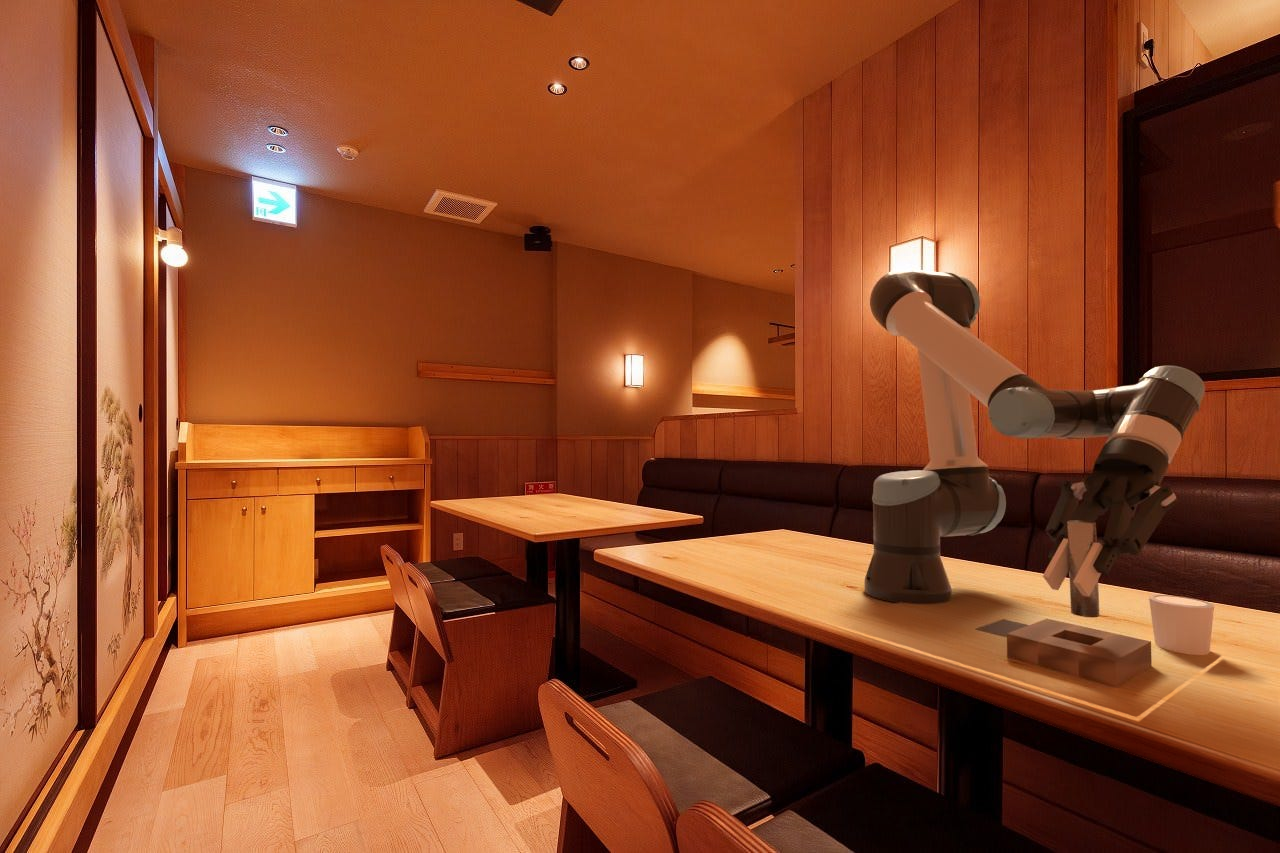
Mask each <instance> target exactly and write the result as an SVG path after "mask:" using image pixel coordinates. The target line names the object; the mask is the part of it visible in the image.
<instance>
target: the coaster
mask: <svg viewBox="0 0 1280 853" xmlns="http://www.w3.org/2000/svg"><path fill="white" fill-rule="evenodd" d="M1028 625H1029V624H1026V623H1022V622H1019V621H1018V622H1017V621H1013V620H1008V619H1004V618H1002V619H999V620H997V621H994V622H991V623H989V624H985V625H983V626H980V627H977V628H975V630H977V631H980V632H984V633H988V634H991V635H996V636H1000V637H1004V638H1007V633H1010V632H1012V631H1015V630H1018V629H1020V628H1023V627H1026V626H1028Z"/></svg>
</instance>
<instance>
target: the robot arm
mask: <svg viewBox="0 0 1280 853" xmlns="http://www.w3.org/2000/svg"><path fill="white" fill-rule="evenodd" d="M869 307H870V312H871V313H872V315H873V318H874V319H875V321H876V322H877V323H878V324H879V325H880V326H881V327H882V328H884V329H885V330H886V331H887V333H889V334H890V335H892V336H895V337H903V338H904V339H905V340H906V341H908V342H909V343H910V344H911V345H913V346H914V347H915V348H916V349H917V356H918V364H919V371H920V372H919V373H920V380H921V382H920V383H921V392H922V398H923V408H924V416H925V425H926V426H925V427H926V433H927V434H926V435H927V443H928V444H927V445H928V452H929V463H927V465H926V466H925V467H924V468H923V470H922V469H921V470H917V469H916V470H907V471H906V470H905V471H904V470H901V471H894V472H889V473H884V474H880V475H879V476H877V477H876V478H875V479H874V482H873V489H872V490H873V492H872V495H871V496H872V497H871V501H872V518H873V519H872V520H873V521H872V523H873V527H872V529H873V553H872V557H871V560H870V562H869V564H868V569H867V571H866V574H865V577H864V593H865V594H866V595H868V596H869V597H873V598H875V599H879V600H881V601H886V602H892V603H896V604H897V603H905V604H914V605H935V604H943V603H947V602H950V601H951V599H952V586H951V583H950V581H949V577H948V574H947V571H946V569H945V566H944V564H943V561H942V557H941V538H942V537H943V538H946V537H957V536H959V537H960V536H969V537H970V536H976V535H979V534H984V533H987V532H990V531H991V530H993V529H994V528H996V527H997V525H999V523H1001V521H1002V519H1003V518H1004V516H1005V512H1006V509H1007V508H1006V507H1007V500H1006V499H1007V498H1006V494H1005V492H1004V489H1003V487H1002V485H1000V484H998V482H997V480H995V479H993V478H992V477H990V474H989V473H990V472H989V465H988V464H987V463H985V462H984V461H983V460H982V459H980V458H979V456H978V449H977V448H978V447H977V440H976V431H975V422H974V415H973V408H972V400H971V396H972V397H974V398H975V399H977V400H978V401H979V402H980V403H981V404H982V405H984V406H985V407H986V408H987V409H988V413H987V414H988V418H989V420H990V423H991V426H992V427H993V429H994V430H996V431H997V432H998V433H1000V434H1001V435H1003V436H1006V437H1015V438H1018V439H1036V438H1037V439H1040V438H1042V439H1043V438H1045V439H1046V438H1055V439H1059V440H1060V439H1061V440H1064V439H1066V440H1081V439H1085V438H1086V439H1087V438H1088V439H1089V438H1101V437H1107V439H1106V441H1105V444H1104V445H1103V446H1102V448H1101V450H1100V452H1099V453H1098V455H1097V457H1096V458H1095V460H1094V464H1093V468H1092V472H1090V473H1089V475H1087V476H1086V477H1085V478H1084V479H1083V481H1080V482H1075V483H1071V481H1070V480H1064V481H1062V482H1061V483H1060V488H1061V493H1060V497H1059V498H1058V500H1057V502H1056V505H1055V506H1054V509H1053V512H1052V514H1051V516H1050V518H1049V521H1048V523H1047V525H1046V527H1045V532H1046V534H1047V535H1048V536H1049V539H1051V541H1052V542H1053V544H1054V545H1053V546H1052V548H1051V550H1050V551H1049V553H1048V557H1047V558H1048V560H1049V563H1048V565H1047V567H1046V569H1045V571H1044V573H1043V574H1042V577H1043V579H1044V580H1045V581H1046V582H1047V584H1048V586H1050V588H1051V589H1052V590H1055V591H1059V590H1060V588H1061V586H1062V584H1063V582H1064V581H1065V579H1066V577H1067V576H1068V573H1069V550H1068V525H1067V521H1070V520H1081V521H1092V522H1096V521H1097V520H1098V518H1099V517H1100V516H1104V515H1105V513H1107V511H1108V510H1109V509H1111V511H1110V514H1109V516H1108V520H1107V524H1106V527H1105V531H1104V535H1103V536H1099V539H1100V541H1101V542H1102V543H1103V544H1102V543H1101V542H1097V543H1095V542H1094V543H1093V545H1092V547H1091V549H1090V551H1089V553H1088V555H1087V556H1086V558H1085V560H1084V562H1083V564H1082V566H1081V568H1080V570H1079V571H1078V573H1077V575H1076V577H1075V579H1074V581H1073V583H1074V584H1075V586H1076V587H1077V588H1078V590H1079V591H1080V593H1081V594H1082V595H1083V596H1087V597H1089V596H1090V594H1091V592H1092V591H1093V589H1094V587H1095V585H1096V583H1097V581H1098V582H1099V578H1100V577H1101V574H1103V575H1107V574H1108V573H1110V572H1111V569H1112V568H1113V565H1114V564H1115V562H1116V560H1117V559H1118V557H1119V556H1121V555H1122V554H1129V555H1131V556H1137V555H1139V554H1140V553H1141V552H1142V551H1143V549H1144V547H1145V545H1146V544H1147V542H1148V541H1149V539H1150V538H1151V536H1152V534H1153V533H1154V532H1155V530H1156V528H1157V527H1158V525H1159V524H1160V522H1161V521H1162V519H1163V518H1164V516H1165V515H1166V513H1167V512H1168V511H1170V510H1171V509H1172V508H1174V507H1175V506H1177V504H1178V503H1179V499H1178V498H1177V495H1176V494H1175V493H1174V491H1173V489H1172V487H1171V486H1169V485H1163V486H1159V485H1160V484H1161V483H1162V481H1163V479H1164V477H1165V475H1166V473H1167V471H1168V468H1169V465H1170V464H1171V462H1172V461H1173V458H1174V456H1175V455H1176V453H1177V450H1178V448H1180V447H1179V446H1180V444H1181V443H1182V440H1183V439H1184V435H1185V433H1186V432H1187V429H1188V428H1189V426H1190V425H1191V423H1192V422H1193V420H1194V418H1195V417H1196V414H1197V413H1198V412H1199V411H1200V408H1201V403H1202V400H1203V397H1204V395H1205V393H1206V385H1205V383H1204V381H1203V380H1202V378H1201V377H1200V375H1198V374H1197V373H1195V372H1194V371H1191V370H1190V369H1188V368H1184V367H1182V366H1177V365H1160V366H1155V367H1153V368H1151V369H1150V370H1148V371H1146V372H1145V373H1144V374H1143V376H1142V377H1141V378H1139V379H1138V383H1135V384H1129V385H1121V386H1116V387H1110V388H1109V387H1107V388H1101V389H1089V390H1077V389H1073V390H1072V389H1055V388H1053V389H1051V388H1046V387H1045V386H1043V385H1042V384H1040V383H1039V382H1038V381H1037V380H1035V379H1034V378H1032V377H1031V376H1030V375H1028V374H1027V373H1026V372H1024V371H1023V370H1021V369H1020V368H1019V367H1017V366H1016V365H1015V364H1013V363H1012V362H1010V361H1009V360H1008V359H1007V358H1005V357H1004V356H1002V355H1001V354H1000V353H999V352H997V351H996V350H995V349H993V348H991V347H990V346H989V345H988V344H986V342H984V341H982V340H981V339H980V338H978V337H977V336H975V335H974V334H973V333H971V332H972V330H971V325H973V323H974V322H975V321H976V319H977V317H976V315H978V314H979V312H980V308H981V298H980V294H979V291H978V288H977V287H976V286H975V284H974V283H973V282H972V281H971V280H970V279H968V278H967V277H965V276H962V275H959V274H955V273H952V272H947V271H946V272H945V271H944V272H937V271H930V270H923V269H922V270H921V269H916V268H907V267H905V268H898V269H893V270H891V271H890V272H887V273H886V274H884V275H883V276H881V277H880V278H879V280H878V281H876V283H875V284H874V286H873V288H872V290H871V293H870V297H869ZM1084 493H1085V494H1084ZM1083 494H1084V495H1083ZM1080 500H1082V502H1081V503H1080V505H1079V501H1080ZM1142 502H1143V503H1142ZM1141 503H1142V505H1141V507H1140V508H1139V510H1138V511H1137V508H1138V505H1139V504H1141ZM1136 512H1137V513H1136Z"/></svg>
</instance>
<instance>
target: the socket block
mask: <svg viewBox="0 0 1280 853" xmlns="http://www.w3.org/2000/svg"><path fill="white" fill-rule="evenodd" d="M1027 625H1028V626H1026V627H1023V628H1020V629H1018V630H1015V631H1012V632H1010V633H1007V637H1006V656H1007V658H1008V659H1012V660H1016V661H1019V662H1023V663H1027V664H1029V665H1033V666H1038V667H1039V668H1040V667H1041V668H1044V669H1048V670H1052V671H1054V672H1058V673H1061V674H1065V675H1069V676H1072V677H1076V678H1080V679H1083V680H1086V681H1091V682H1093V683H1098V684H1102V685H1105V686H1108V687H1111V688H1118V687H1120V686H1121V685H1123V684H1124V683H1127V682H1128V681H1130V680H1131V679H1133V678H1135V677H1136V676H1138V675H1139V674H1141V673H1143V672H1144V671H1146V670H1147V669H1149V668H1151V667H1152V665H1153V664H1152V641H1150V640H1147V639H1146V640H1145V639H1143V638H1142V639H1141V638H1137V637H1132V636H1129V635H1123V634H1119V633H1115V632H1110V631H1105V630H1101V629H1097V628H1091V627H1088V626H1082V625H1078V624H1072V623H1070V622H1064V621H1059V620H1055V619H1051V618H1044V619H1042V620H1039V621H1037V622H1034V623H1032V624H1027Z"/></svg>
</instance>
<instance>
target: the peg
mask: <svg viewBox="0 0 1280 853" xmlns="http://www.w3.org/2000/svg"><path fill="white" fill-rule="evenodd" d="M1067 525H1068V550H1069V571H1068V573H1069V596H1070V599H1069V600H1070V601H1069V602H1070V613H1071V614H1072V615H1074V616H1078V617H1083V618H1099V617H1100V597H1099V580H1098V581H1097V583H1096V585H1095V587H1094V589H1093V591H1092V592H1091V594H1090V596H1089V597H1087V596H1083V595H1082V594H1081V593H1080V591H1079V590H1078V588H1077V587H1076V586H1075V584H1074V583H1073V581H1074V579H1075V577H1076V575H1077V573H1078V571H1079V570H1080V568H1081V566H1082V564H1083V562H1084V560H1085V558H1086V556H1087V555H1088V553H1089V551H1090V549H1091V547H1092V545H1093V543H1094V542H1095V543H1098V542H1097V523H1096V521H1095V522H1092V521H1081V520H1070V521H1067Z"/></svg>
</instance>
